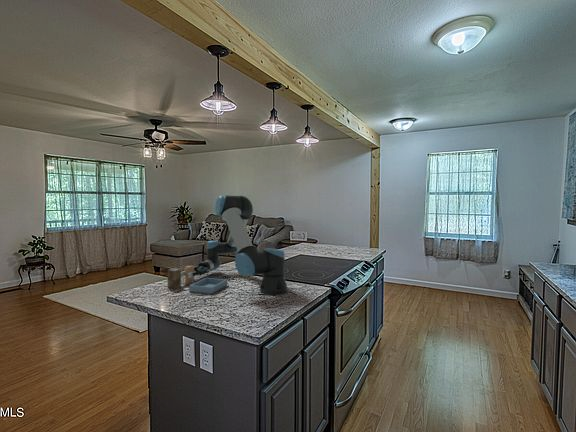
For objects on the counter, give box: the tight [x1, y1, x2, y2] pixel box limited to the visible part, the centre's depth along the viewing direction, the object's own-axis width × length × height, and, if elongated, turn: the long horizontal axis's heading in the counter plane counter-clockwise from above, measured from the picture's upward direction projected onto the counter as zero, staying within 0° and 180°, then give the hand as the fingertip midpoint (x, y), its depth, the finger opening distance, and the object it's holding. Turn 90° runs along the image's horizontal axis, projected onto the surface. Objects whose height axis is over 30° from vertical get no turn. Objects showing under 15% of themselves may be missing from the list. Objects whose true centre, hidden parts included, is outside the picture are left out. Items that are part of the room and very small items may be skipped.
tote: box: [188, 277, 228, 295], centre depth 176 cm, size 14×18×4 cm
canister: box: [184, 265, 195, 286], centre depth 185 cm, size 5×5×10 cm
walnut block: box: [167, 267, 182, 289], centre depth 178 cm, size 5×5×10 cm
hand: (184, 275), depth 180 cm, fingers closed on canister, 5 cm apart
